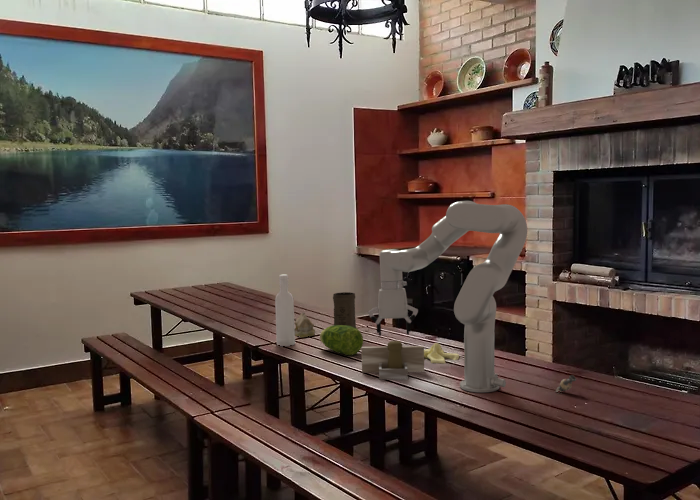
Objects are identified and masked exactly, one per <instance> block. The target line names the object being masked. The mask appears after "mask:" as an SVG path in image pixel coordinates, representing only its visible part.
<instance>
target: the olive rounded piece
mask: <svg viewBox="0 0 700 500" xmlns="http://www.w3.org/2000/svg"><path fill="white" fill-rule="evenodd" d="M402 346H403V344H402V342H401V341H399V340H391V341H389V342H388V343H387V346H386V347H387V348H388V350H389V356H388V365H387V369H403V362H402V355H401V350H402Z"/></svg>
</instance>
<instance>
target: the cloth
mask: <svg viewBox="0 0 700 500" xmlns="http://www.w3.org/2000/svg"><path fill="white" fill-rule="evenodd" d="M442 348H443V347H442V345H441V344H440V343H437V342H435V343H433V344H432V345H431V346H430V348H425V349H424V359H425V358H426V359H429V360H430V363H431V364H442V365H443V364H444V365H445V364H447V363H446V359H450V360H453V361H457V360H459V358H460V354H459V353H450V352H449V353H448V352H445V351H444V349H442Z"/></svg>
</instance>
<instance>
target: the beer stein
mask: <svg viewBox="0 0 700 500" xmlns="http://www.w3.org/2000/svg"><path fill="white" fill-rule="evenodd" d="M332 300H333V325H346V326H352V327H354V328H357V323H356V320H357V319H356V304H355V303H356V301H355V300H356V293H354V292H347V291H345V292H336V293H333V295H332Z"/></svg>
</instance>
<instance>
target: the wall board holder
mask: <svg viewBox="0 0 700 500" xmlns="http://www.w3.org/2000/svg"><path fill="white" fill-rule="evenodd" d="M424 350H425V346H424V345H422V346H421V345H419V346H418V345H415V346H411V345H410V346H409V345H408V346H406V345H405V346H403V345H402V350H401V355H402V362H403V369H387V365H388V356H389V350H388V348H387V346H362V347H361V374H363V373H366V374H367V373H378V374H379V375H378V379H379V380H408V373H425V358H424Z"/></svg>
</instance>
